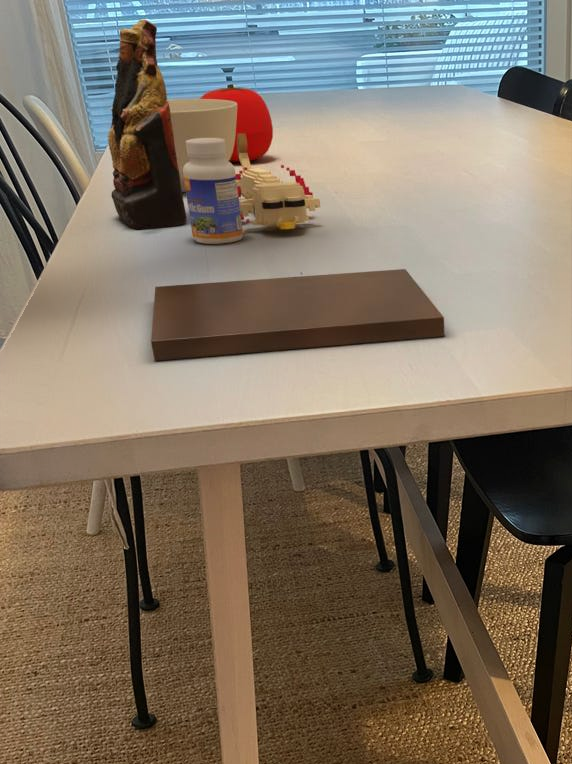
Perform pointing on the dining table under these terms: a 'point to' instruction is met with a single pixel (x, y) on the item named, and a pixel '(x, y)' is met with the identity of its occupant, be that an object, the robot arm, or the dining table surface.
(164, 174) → the statue
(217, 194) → the pill bottle
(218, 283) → the board
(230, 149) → the bowl
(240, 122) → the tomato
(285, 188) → the axolotl toy
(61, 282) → the dining table surface
